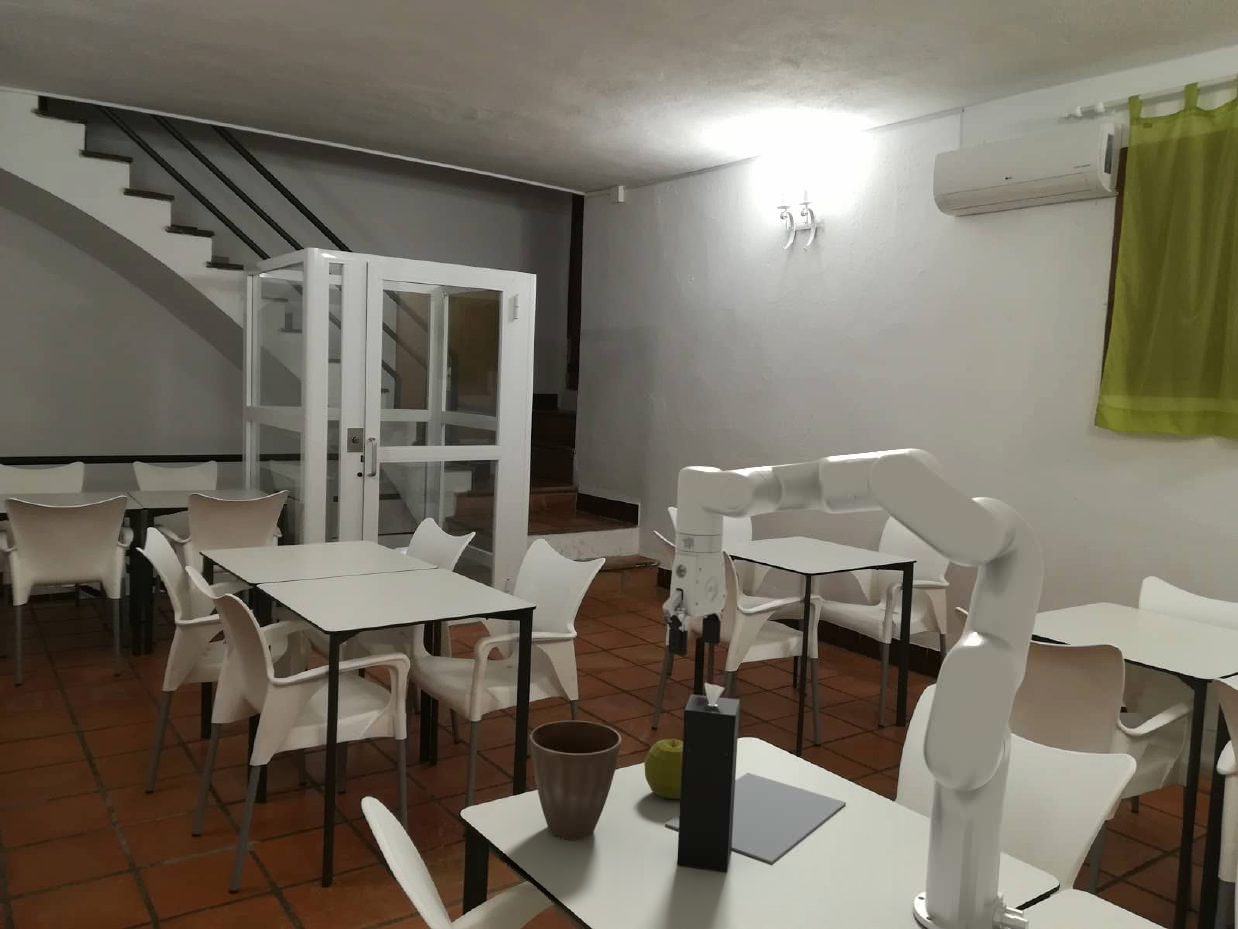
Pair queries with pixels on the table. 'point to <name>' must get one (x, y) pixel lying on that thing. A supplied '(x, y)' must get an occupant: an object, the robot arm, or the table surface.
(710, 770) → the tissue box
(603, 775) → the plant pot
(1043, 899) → the table surface
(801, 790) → the mat
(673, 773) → the apple
